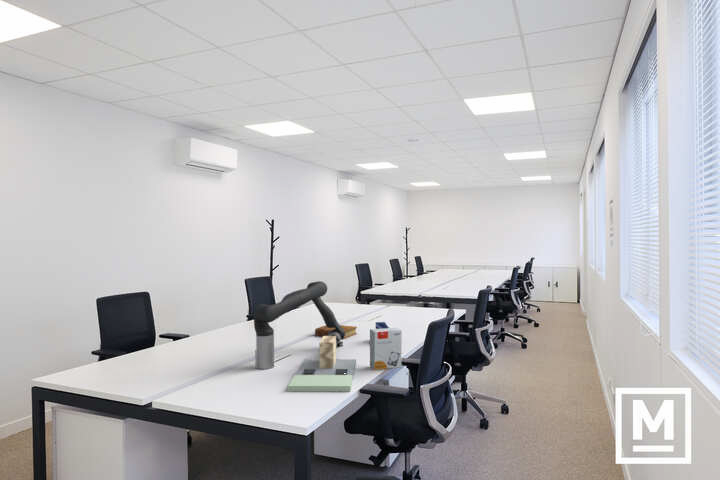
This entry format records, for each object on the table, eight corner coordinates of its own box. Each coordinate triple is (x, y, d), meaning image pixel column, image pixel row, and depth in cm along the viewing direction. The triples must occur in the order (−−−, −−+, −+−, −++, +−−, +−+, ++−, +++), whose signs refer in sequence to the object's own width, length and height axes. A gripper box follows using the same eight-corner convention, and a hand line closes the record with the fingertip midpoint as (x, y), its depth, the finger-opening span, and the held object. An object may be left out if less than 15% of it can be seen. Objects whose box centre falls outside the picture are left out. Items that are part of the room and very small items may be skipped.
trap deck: (288, 391, 206) (288, 385, 206) (304, 363, 250) (304, 359, 249) (350, 391, 204) (350, 386, 204) (356, 363, 248) (356, 359, 248)
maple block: (319, 368, 233) (319, 342, 232) (323, 360, 247) (323, 335, 247) (333, 368, 232) (333, 342, 232) (336, 360, 247) (336, 335, 247)
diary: (315, 337, 318) (314, 328, 318) (329, 332, 335) (329, 324, 335) (343, 340, 307) (343, 331, 307) (357, 334, 324) (356, 326, 324)
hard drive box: (373, 370, 236) (373, 331, 235) (369, 366, 243) (369, 329, 243) (402, 367, 240) (401, 329, 240) (397, 364, 247) (396, 327, 247)
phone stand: (394, 344, 292) (394, 325, 292) (376, 344, 292) (375, 325, 292) (393, 339, 304) (393, 321, 304) (375, 340, 304) (375, 322, 304)
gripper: (322, 334, 267) (318, 340, 250) (344, 334, 267) (342, 340, 250) (322, 346, 268) (318, 354, 250) (345, 346, 267) (342, 354, 250)
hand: (330, 347), depth 250 cm, fingers closed
